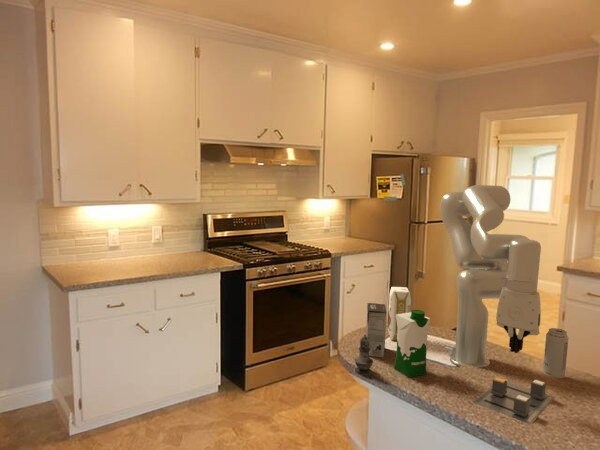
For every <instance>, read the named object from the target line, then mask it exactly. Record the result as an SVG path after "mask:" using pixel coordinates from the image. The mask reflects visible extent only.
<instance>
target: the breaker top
mask: <svg viewBox="0 0 600 450" xmlns="http://www.w3.org/2000/svg"><path fill="white" fill-rule="evenodd" d="M546 386H547V383H545V382H544V381H541V380H538V379H534V380H533V381H531V384H530V389H531V392H530V396H532V397H535V398H538V399H541V400H542V399H543V397H544V396H545V395H546V394H547V393H546V389H547V387H546Z"/></svg>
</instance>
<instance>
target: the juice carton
mask: <svg viewBox="0 0 600 450" xmlns="http://www.w3.org/2000/svg"><path fill="white" fill-rule="evenodd" d="M388 295H389V297H388V314H387V315H388V317H387V318H388V319H387V330H388V335H389V340H390V341H397V334H398V326H397V319H396V314H403V313H410V312H411V311H412V310H411V309H412V296H411V292H410V290H409V289H408V287H405V286H404V287H403V286H391V288H390V291H389V294H388Z"/></svg>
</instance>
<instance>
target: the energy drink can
mask: <svg viewBox="0 0 600 450" xmlns="http://www.w3.org/2000/svg"><path fill="white" fill-rule="evenodd" d="M567 333H568V332H567V330H565V329H562V328H556V327H555V328H554V327H550V328H548V331H547V332H546V334H545V344H544V353H543V354H544V355H543V368H542V373H543V374H544V375H546V376H549V377H551V378H555V379H556V378H557V379H563V378H566V370H567V368H566V367H567V357H568V347H569V346H568V345H569V336H568V334H567Z"/></svg>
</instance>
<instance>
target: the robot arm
mask: <svg viewBox="0 0 600 450" xmlns="http://www.w3.org/2000/svg"><path fill="white" fill-rule="evenodd" d="M510 204H511V194H510V192H509V191H508V189H507V188H506V187H504V186H503V185H492V184H490V185H487V184H486V185H485V184H477V185H476V184H475V185H471V186H468V187H467V188H465V189H464V191H454V192H453V191H452V192H447V193H446V194H444V195H443V196H442V197H441V200H440V204H439V210H440V211H439V213H440V216H441V217H440V218H441V221H442V223H443V225H444V227H445V229H446V230H447V233H448V234H449V239H450V243H451V246H452V251H453V255H454V260H455V262H456V264H457V265H458V266H459V267H460V268H462V269H464V270H462V271H460V272H459V273H458V275H457V276H456V290H457V314H456V315H457V318H456V332H455V333H456V334H455V344H452V343H449V342H445V343H444V350H445V351H448V352H450V353H451V354H450V356H449V361H450V362H451V363H452V364H454V365H455V366H457V367H463V366H466V367H471V368H482V367H483V368H484V367H487V366H489V365H490V364H491V362H490V359H489V358H487V357H486V354H487V353H486V352H487V351H486V350H487V340H488V339H487V338H488V328H489V327H488V325H489V310H488V308H487V306H486V305H485V304H484V302H483V300H484V299H485V300H486V299H492V300H493V299H496V300H497V299H498V303H497V309H496V315H495V317H496V319H495V321H496V325H497V326H498V327H500V328H502V329H504V330H505V332H506V333H507V335H508V337H509V342H508V343H509V344H508V347H509V348H510V353H514V354H518V353H520V351H522V350H523V347H524V338H526V337H528V336H538V335H539V334H541V333H540V328H539V327H540V326H541V318H542V317H541V316H542V315H541V313H542V309H541V296H540V292H539V291H538V282H539V274H540V273H539V271H540V261H541V253H542V251H541V250H542V246H541V243H540V242H539V241H537V240H535V239H529V238H528V237H527V236H525V235H521V234H506V233H504V234H501V233H500V234H499V233H495V234H494V233H488V232H490V231H494V230H495V229H497V228H498V227H499V226H500V225H501V224H502V222H503V221H504V219H505V212H504V211H507V209H508V208H509V207H510ZM464 217H472V219H473V222H472V224H471V223H470V222H469V221H468V220H466V219H465V218H464ZM517 329H518V334H517Z"/></svg>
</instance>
